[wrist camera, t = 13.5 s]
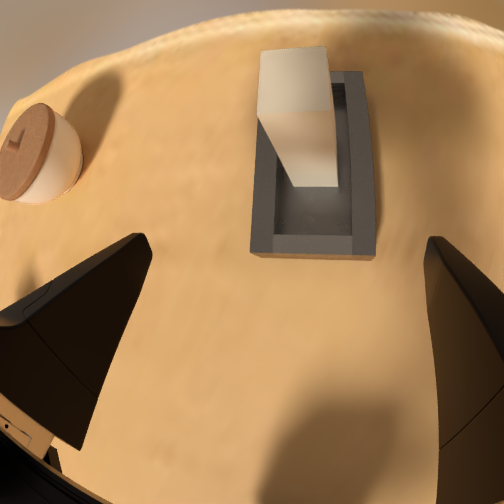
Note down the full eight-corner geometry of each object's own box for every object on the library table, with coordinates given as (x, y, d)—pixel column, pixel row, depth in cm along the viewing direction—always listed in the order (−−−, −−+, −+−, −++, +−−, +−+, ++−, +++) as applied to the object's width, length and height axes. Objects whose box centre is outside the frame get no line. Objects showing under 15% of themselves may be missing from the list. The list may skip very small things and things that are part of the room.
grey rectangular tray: (371, 260, 21) (375, 255, 18) (261, 257, 23) (249, 252, 20) (361, 93, 23) (362, 71, 20) (269, 96, 25) (260, 76, 22)
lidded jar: (35, 219, 32) (-24, 202, 23) (50, 141, 34) (-1, 116, 25) (89, 208, 29) (19, 184, 20) (105, 119, 31) (49, 80, 22)
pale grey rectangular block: (338, 186, 21) (330, 110, 12) (293, 186, 22) (256, 114, 13) (336, 137, 22) (325, 46, 12) (294, 137, 23) (261, 51, 13)
